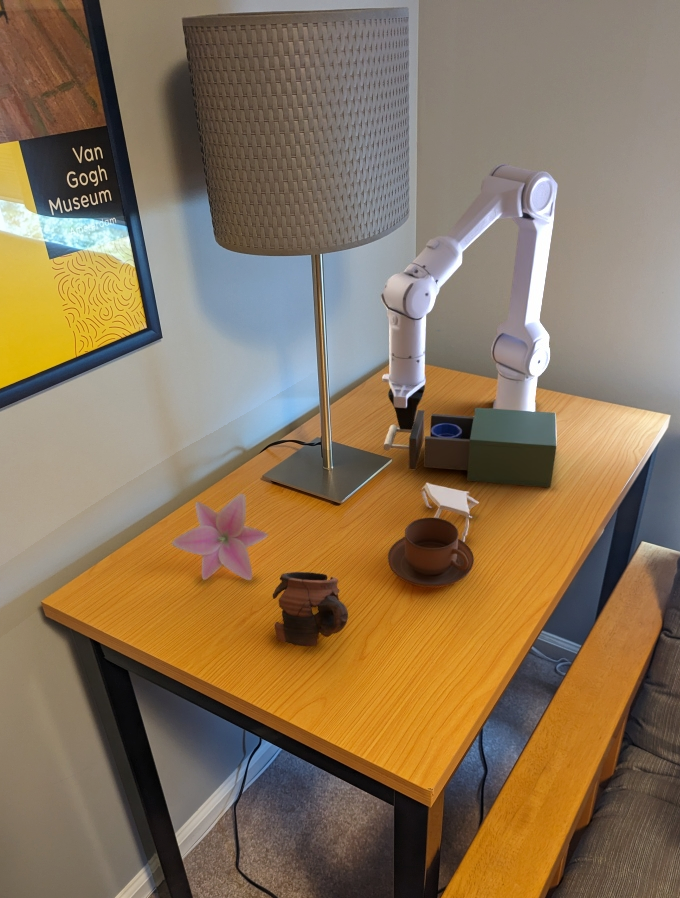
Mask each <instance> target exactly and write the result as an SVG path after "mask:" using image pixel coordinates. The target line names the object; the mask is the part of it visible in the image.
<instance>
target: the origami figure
mask: <svg viewBox="0 0 680 898" xmlns="http://www.w3.org/2000/svg"><path fill="white" fill-rule="evenodd" d="M419 492H420V494H421V497H422V499H423V501H424V504H425V506H426V507H427V508H429V509H432V508H433V506H431V505H430V504H429V501H428V498H429V499H430V500H431V501H432V503H434V504H435V505H436V506H437V507H438V508H437V510H436V512H435V514H434V516H433V518H440V515H441V514H442V511H448V512H451V513H454V514H457V515H461V516H463V517H465V523H464V529H463V532H462V533H461V541H463V542H464V543H465V541H466V537H467V536H468V533H469V527H470V519H472V518H473V516H472V515H470V510H472V509H473V508H474V507H475V506H477V505H478V504H479V503H480V502H479V501H478V500H476V499H475V498H473V497H472V496H470V495H469V494H470V493H471V492H470V491H465V490H460V489H455V488H450V487H446V486H441V485H437V484H433V483H429V482H426V483H425V484H424V485H423V487H422V488H421V490H420V491H419ZM427 496H428V498H427Z"/></svg>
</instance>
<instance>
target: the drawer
mask: <svg viewBox="0 0 680 898" xmlns="http://www.w3.org/2000/svg"><path fill="white" fill-rule="evenodd" d="M425 411H426V410H423V409H417V411H416V416H415V420H414V424H413V427H412V430H405V429H400V427H399V426H397V425H396V424H391V425H390V426H389V427H388V431H387V434H386V436H385V440H384V443H383V445H382V449H383V450H384V451H386V452H390V451H391V449H394V450H405V451H406V450H407V451H408V470H410V471H411V470H413V471H416V470H417V468H418V463H419V460H420V457H421V453H422V448H423V446H424V454H423V455H424V457H423V467H424V468H434V469H443V470H444V469H446V470H456V471H457V470H459V471H468V461H469V446H470V436H471V430H472V424H473V418H474V416H469V415H456V414H455V415H454V414H440V413H431V414H430V429H431V428H432V427H433V426H435V425H437V424H441V423H450V424H455V425H457V426H459V427H460V428H461V429H462V439H457V438H444V437H431V430H430V433H429V434H430V435H429V436H428V435H426V436H425ZM397 432H398V433H406V434H407V433H408V434H409V433H410V435H409V438H408V440H409V441H408V444H399V443H398V444H397V443H394V441H395V438H396V435H397Z"/></svg>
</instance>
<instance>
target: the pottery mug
mask: <svg viewBox="0 0 680 898" xmlns="http://www.w3.org/2000/svg"><path fill="white" fill-rule="evenodd" d="M279 580H280V581H281V582H280V583H279V584H278V585H277V586H276V587H275V589H274V591H273V593H272V599H274V600H276V599H278V596H279V594H281V595H280V597H279V599H278V606H279V608H280V609H281V610H282V611H281V616H282V622H283V623H282V622H279V621H276V622H274V630H275V631H274V632H275V638H276V639H277V640H278V641H279V642H282V643H286V644H290V645H293V646H301V647H316V646H318V642H319V641H318V639H319V637H320V635H322V636H323V637H325V638H329V637H331V635H333V634H338V633H340V632H342V630H343V629H344V628H345V627H346V624H347V623H348V619H349V611H348V609H347V606H346V605H345V604H344V603H343V602H342V601H340V597H339V593H340V589H339V588H338V583H339V579H338V578H337V577H335V576H330V579H328V575H327V574H325V573H319V572H311V571H310V572H309V571H291V572H285V573H282V574H281V575H280V577H279ZM282 592H283V593H282ZM313 608H317V612H316V613H314V612H313Z"/></svg>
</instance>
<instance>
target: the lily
mask: <svg viewBox="0 0 680 898" xmlns="http://www.w3.org/2000/svg"><path fill="white" fill-rule="evenodd" d="M246 510H247V499H246V495H245V494H244V493H239V494H238V495H236V496H235V497H233V498H232V499H231V500H230V501H229V502H228V503H226V504H225V505H224V506H223V507H222V508H221V509H220V510H219V512H217V511H215V510H214V509H213V508H211V507H210V506H208V505H206V504H204V503H202V502H201V501H196V502H195V512H196V516H197V522H198V524H199V526H196V527H194V528H192V529H190V530H188V531H186V532H184V533H182V534H180V535H179V536H177V537H175V538H174V539H173V540H172V541H171V545H172V546H173V547H174V548H177V549H178V550H181V551H183V552H188V553H191V554H194V555H198V556H202V558H201V578H202V580H203V581H205V580H207V579H209V578H210V577H212V576H213V575H214V574H215V573H216V572H218V570H220V568H221V567H222V566H224V567H225V568H226V569H227V570H229V571H230V572H232V573H233V574H235V575H236V576H238V577H240V578H242V579H243V580H244V579H245V580H247V581H252V579H253V568H252V564H251V560H250V555H249V551H248V548H250V547H252V546H254V545H256V544H258V543H260V542H263V540H265V539H266V538H268V536H269V534H268V533H267V532H265V531H263V530H260V529H258V528H254V527H251V526H246V516H247V515H246V514H247V513H246V512H247V511H246Z"/></svg>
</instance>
